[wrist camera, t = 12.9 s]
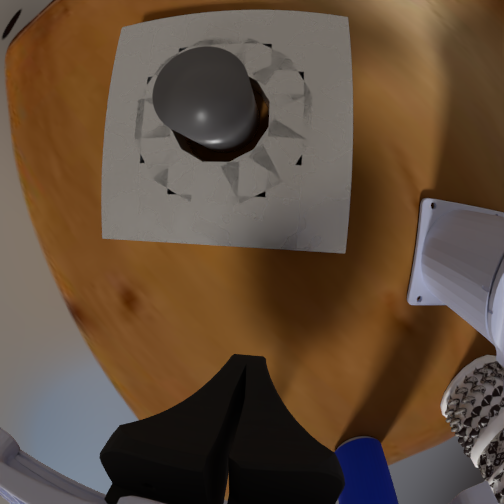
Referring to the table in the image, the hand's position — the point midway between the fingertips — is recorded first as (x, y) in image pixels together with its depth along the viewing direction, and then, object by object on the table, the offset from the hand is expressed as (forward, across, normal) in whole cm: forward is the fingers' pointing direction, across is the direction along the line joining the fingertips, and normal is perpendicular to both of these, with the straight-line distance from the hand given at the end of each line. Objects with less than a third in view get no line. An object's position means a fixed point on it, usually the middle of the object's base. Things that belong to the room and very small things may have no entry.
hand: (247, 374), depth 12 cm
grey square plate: (+9, +3, -12) cm, 16 cm away
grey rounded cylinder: (+9, +3, -12) cm, 16 cm away
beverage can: (+10, -11, +17) cm, 22 cm away
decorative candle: (+10, -23, +10) cm, 27 cm away
